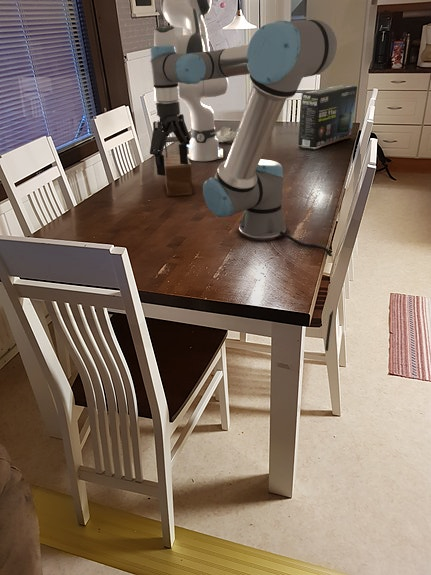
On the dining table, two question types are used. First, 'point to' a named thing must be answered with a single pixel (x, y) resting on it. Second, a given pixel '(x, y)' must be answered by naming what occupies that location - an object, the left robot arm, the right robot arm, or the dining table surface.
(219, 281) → the dining table surface
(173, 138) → the lid
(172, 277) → the dining table surface
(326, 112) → the router box
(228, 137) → the fossil
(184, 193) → the chest
